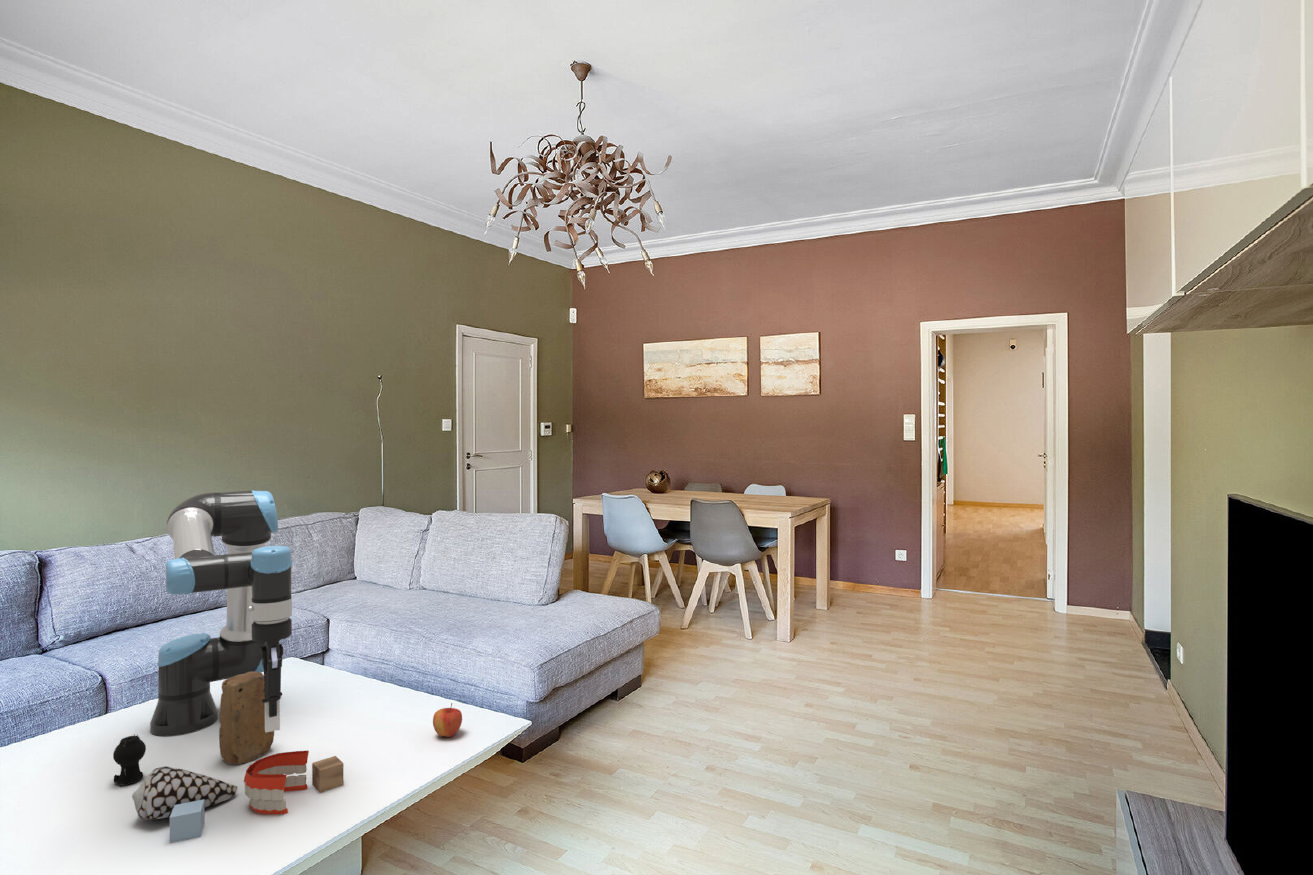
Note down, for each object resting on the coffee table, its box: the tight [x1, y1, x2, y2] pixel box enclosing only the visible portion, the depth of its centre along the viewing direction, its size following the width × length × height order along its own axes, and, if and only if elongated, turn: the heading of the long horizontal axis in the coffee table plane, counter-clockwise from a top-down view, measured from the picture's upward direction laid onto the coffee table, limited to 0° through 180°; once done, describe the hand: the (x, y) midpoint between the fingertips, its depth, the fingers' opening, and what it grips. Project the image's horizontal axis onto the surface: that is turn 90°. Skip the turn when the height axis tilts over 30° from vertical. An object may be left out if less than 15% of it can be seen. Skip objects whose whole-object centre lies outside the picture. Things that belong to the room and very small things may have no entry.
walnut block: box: [311, 755, 344, 794], centre depth 154 cm, size 5×5×5 cm
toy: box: [243, 750, 309, 815], centre depth 147 cm, size 12×10×8 cm
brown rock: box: [218, 671, 275, 765], centre depth 168 cm, size 11×8×20 cm
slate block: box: [169, 799, 205, 844], centre depth 135 cm, size 5×5×5 cm
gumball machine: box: [112, 733, 147, 788], centre depth 156 cm, size 7×6×10 cm
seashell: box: [131, 766, 238, 821], centre depth 144 cm, size 16×13×10 cm
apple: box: [432, 702, 463, 738], centre depth 179 cm, size 7×7×8 cm
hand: (272, 729), depth 147 cm, fingers closed
